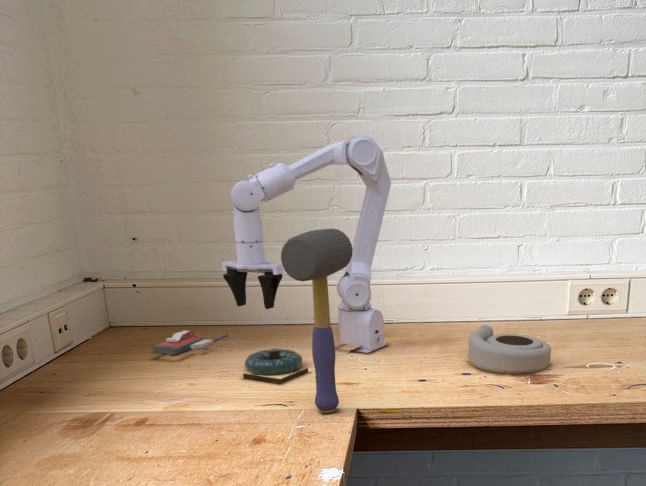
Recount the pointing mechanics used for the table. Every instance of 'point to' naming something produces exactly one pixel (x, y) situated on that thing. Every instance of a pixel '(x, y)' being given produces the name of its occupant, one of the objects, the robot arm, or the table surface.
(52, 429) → the table surface
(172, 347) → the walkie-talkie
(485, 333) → the turbocharger housing
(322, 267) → the rubber mallet
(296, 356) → the hang ring
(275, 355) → the post
